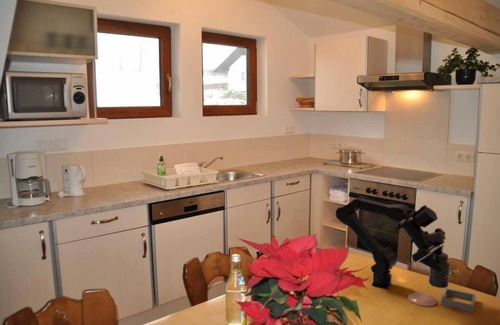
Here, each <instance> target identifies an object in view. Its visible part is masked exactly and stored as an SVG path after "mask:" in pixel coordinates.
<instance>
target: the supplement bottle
mask: <svg viewBox="0 0 500 325" xmlns="http://www.w3.org/2000/svg"><path fill="white" fill-rule="evenodd" d="M433 258H434V259H435V261H436V263H437V264H438V266H439V267H440V269H441V272H437V271H435V270H434V269H432V268H430V267H429V272H428V273H429V274H428V284H430V285H431V286H432V287H434V288H438V289H439V288H440V289H445V288H448V287H449V282H450V270H451V263H450V262H449V254H447V253H445V252H443V253H442V252H435V253H434V257H433Z"/></svg>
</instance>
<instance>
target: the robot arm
mask: <svg viewBox="0 0 500 325" xmlns="http://www.w3.org/2000/svg"><path fill="white" fill-rule="evenodd" d="M359 209H361V210H365V211H369V212H373V213H377V214H381V215H383V216H385V217H386V218H387V219H390V220H392V221H393V222H396V223H397V229H396V230H397V231H400V230H402V229H403V231H404V232H405V233H406V235H407V236H408V237H409V239H411V240H410V241H409V242H410V243H411V244H414V246H415V247H416V248H417V249H416V252H414V253H413V254H412V255H411V259H412V261H413V262H414V263H417V262H418V263H419V264H420V263H421V264H423V265H425V266H427V267H429V269H430V268H432V269H434V270H435V271H437V272H441V269H440V267H439V266H438V264H437V263H436V261H435V259H434V253H435V252H442V253H444V252H443V249H444V244H445V242H446V241H445V240H446V239H447V238H446V232H445V231H444V229H442V228H441V227H440V228H439V227H438V228H435V229H434V231H433V232H430V233H429V231H428V230H425V231H424V229H425V228H427V227H428V226H430V225H432V224H433V223H434V222H435V221H438V215H437V213H436V212H435V211H434V210H433V209H432V208H430V207H428V206H427V205H426V204H424V205H422V206H421V207H420V208H419V209H418V210H414V209H411V208H409V207H408V206H407V205H406V204H394V203H393V204H392V203H391V204H387V203H382V202H379V201H375V200H371V199H368V198H367V199H366V198H363V197H361V196H360V197H356V198H354V199H352V200H351V201H350V202H349V203H347V204H344V205H343V206H341V207H338V208H336V210H335V218H336V219H337V220H338V221H339V222H340V223H342V224H343V225H345V226H347V227H348V228H350V229H351V231H353V233H354V234H355V235H356V236H357V237H358V238H359V240H360V241H361V242H362V244H363V245H364V246H365V247H366V248H367V249H368V250H369V251H370V252H371V255H372V258H373V261H374V263H375V264H373V265H372V266H370V269H371V272H372V273H373V274H372V283H371V286H372V287H376V288H377V287H378V288H382V289H387V290H388V289H389V287H390V286H391V285H392V281H393V280H392V278H393V275H392V273H391V270H392V269H393V267H395V266H396V264H397V261H398V260H397V259H398V258H397V257H396V253H395V252H393V251H392V249H391V248H390V247H389V246H387V247H383V246H382V245H381V244H380V243H379V242H378V241H377V240H376V238H375V237H374V236H373V235H372V234H371V233H370V231H368V229H367V228H366V227H365V226H364V224H362V222H361V221H360V220H359V217H358V213H357V211H359ZM411 218H412V219H411ZM410 219H411V220H410ZM402 221H403V222H402ZM423 228H424V229H423Z"/></svg>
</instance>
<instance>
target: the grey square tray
mask: <svg viewBox="0 0 500 325" xmlns="http://www.w3.org/2000/svg"><path fill="white" fill-rule="evenodd" d="M442 293H443V294H442V295H441V299H440V300H441V301H440V305H441V306H444V307H448V308H453V309H458V310H461V311H466V312H470V313H474V309H475V304H476V295H477V294H475V293H472V292H471V293H470V292H466V291H462V290H457V289H452V288H448V287H446V288H444V291H443V292H442ZM447 296H450V297H453V298H454V297H455V298H459V299H462V300H463V299H464V300H467V301H471V303H467V302H462V301H458V300H454V299H453V300H452V299H449V298H447Z"/></svg>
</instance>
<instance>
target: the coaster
mask: <svg viewBox="0 0 500 325" xmlns="http://www.w3.org/2000/svg"><path fill="white" fill-rule="evenodd" d="M407 295H408V297H407V299H408V301H409V302H410V303H411V304H413V305H416V306H420V307H425V308H426V307H427V308H429V307H430V308H431V307H434V306H436V304H437V299H436V297H434V296H433V295H431V294H428V293H425V292H411V293H409V294H407Z"/></svg>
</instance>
